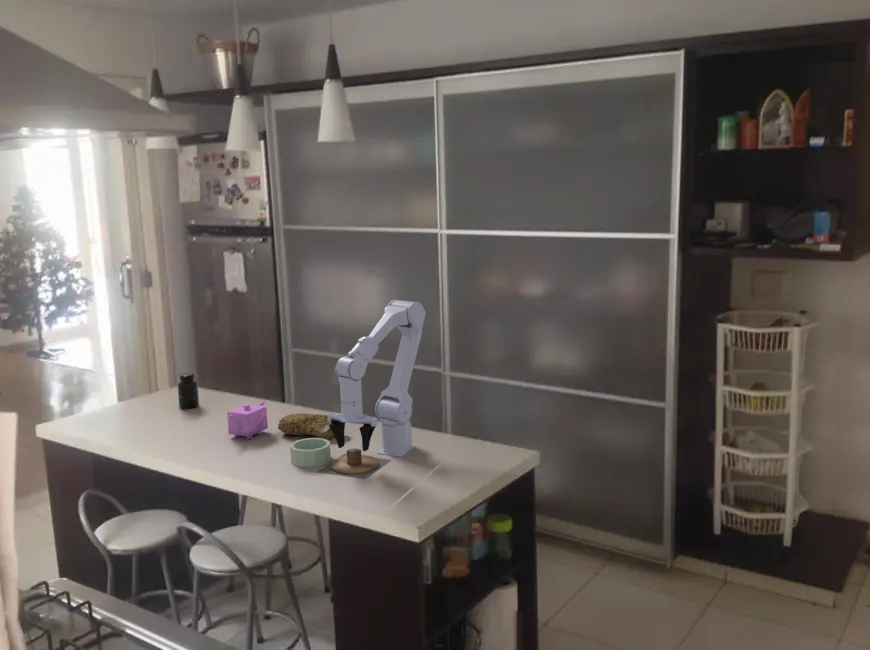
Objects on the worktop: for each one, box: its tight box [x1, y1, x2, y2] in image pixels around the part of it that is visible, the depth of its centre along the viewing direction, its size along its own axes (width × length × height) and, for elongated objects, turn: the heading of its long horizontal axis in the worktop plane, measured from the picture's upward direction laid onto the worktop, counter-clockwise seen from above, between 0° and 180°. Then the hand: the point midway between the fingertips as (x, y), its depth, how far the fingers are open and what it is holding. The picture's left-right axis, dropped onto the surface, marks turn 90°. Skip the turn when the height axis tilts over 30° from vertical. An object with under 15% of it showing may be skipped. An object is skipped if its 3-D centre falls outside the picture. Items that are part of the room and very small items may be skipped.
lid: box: [330, 448, 378, 474], centre depth 222 cm, size 13×13×4 cm
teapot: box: [226, 400, 269, 440], centre depth 252 cm, size 18×13×10 cm
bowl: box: [289, 437, 332, 468], centre depth 228 cm, size 11×11×5 cm
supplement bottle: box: [177, 372, 200, 410], centre depth 285 cm, size 7×7×12 cm
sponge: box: [277, 413, 335, 440], centre depth 251 cm, size 13×8×20 cm
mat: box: [316, 453, 392, 480], centre depth 223 cm, size 15×15×1 cm
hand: (353, 448), depth 222 cm, fingers open, 7 cm apart
